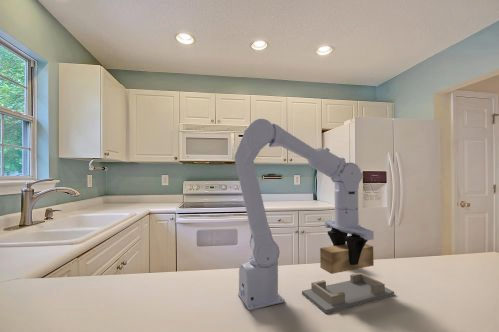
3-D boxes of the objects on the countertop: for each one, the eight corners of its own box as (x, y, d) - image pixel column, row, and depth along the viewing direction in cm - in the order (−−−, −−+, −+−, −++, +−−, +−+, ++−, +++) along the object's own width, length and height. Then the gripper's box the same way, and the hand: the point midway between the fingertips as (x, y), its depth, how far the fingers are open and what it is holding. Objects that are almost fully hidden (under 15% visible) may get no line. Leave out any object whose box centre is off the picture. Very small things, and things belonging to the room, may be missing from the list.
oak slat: (331, 273, 55) (331, 252, 55) (320, 267, 58) (320, 247, 59) (373, 265, 60) (373, 246, 60) (361, 260, 64) (360, 242, 64)
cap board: (325, 313, 50) (325, 300, 51) (301, 294, 59) (301, 282, 59) (394, 294, 59) (394, 283, 59) (364, 280, 67) (364, 270, 67)
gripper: (382, 211, 55) (383, 269, 54) (337, 204, 68) (338, 250, 67) (360, 213, 52) (361, 273, 51) (318, 205, 65) (319, 253, 65)
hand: (347, 261), depth 59 cm, fingers closed on oak slat, 4 cm apart
